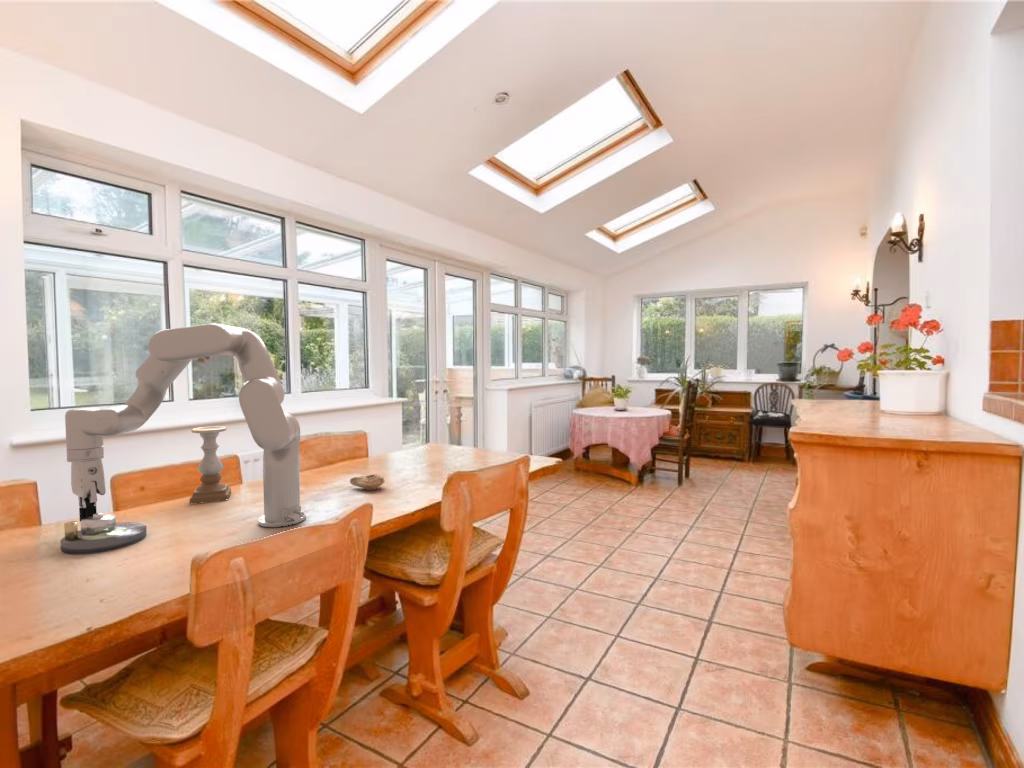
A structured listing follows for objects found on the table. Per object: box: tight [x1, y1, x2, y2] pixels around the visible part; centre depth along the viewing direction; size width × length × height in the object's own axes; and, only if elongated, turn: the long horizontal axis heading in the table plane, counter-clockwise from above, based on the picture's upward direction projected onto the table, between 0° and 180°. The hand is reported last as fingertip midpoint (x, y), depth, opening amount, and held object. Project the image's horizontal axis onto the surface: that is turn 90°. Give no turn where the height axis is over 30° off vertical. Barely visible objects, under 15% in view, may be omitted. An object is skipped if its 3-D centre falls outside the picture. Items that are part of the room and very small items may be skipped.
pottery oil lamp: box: [349, 473, 386, 491], centre depth 179 cm, size 9×12×7 cm
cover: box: [80, 512, 117, 534], centre depth 129 cm, size 7×7×4 cm
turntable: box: [60, 520, 147, 555], centre depth 126 cm, size 17×17×6 cm
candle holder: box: [189, 425, 232, 505], centre depth 166 cm, size 11×11×24 cm
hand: (88, 521), depth 133 cm, fingers closed
